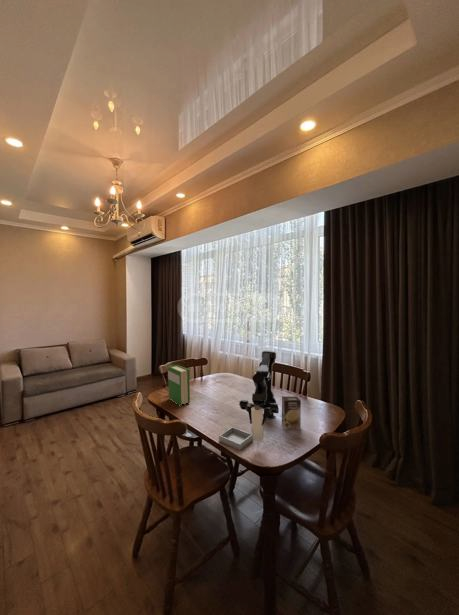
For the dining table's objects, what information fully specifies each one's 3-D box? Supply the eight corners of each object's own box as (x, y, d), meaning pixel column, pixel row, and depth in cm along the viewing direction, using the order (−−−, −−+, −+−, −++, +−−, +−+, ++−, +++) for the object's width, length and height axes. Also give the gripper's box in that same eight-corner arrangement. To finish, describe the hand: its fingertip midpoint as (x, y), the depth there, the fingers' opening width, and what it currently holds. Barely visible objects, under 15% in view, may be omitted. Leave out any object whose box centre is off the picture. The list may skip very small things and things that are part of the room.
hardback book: (189, 404, 172) (189, 369, 171) (180, 407, 167) (179, 371, 167) (178, 396, 186) (177, 364, 185) (168, 399, 181) (167, 366, 180)
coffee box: (284, 430, 135) (284, 400, 135) (281, 424, 142) (281, 396, 141) (301, 429, 136) (300, 400, 135) (297, 423, 142) (297, 395, 141)
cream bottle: (249, 436, 120) (249, 404, 120) (259, 433, 122) (259, 402, 122) (255, 442, 115) (254, 408, 115) (265, 439, 117) (264, 406, 117)
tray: (232, 432, 134) (232, 426, 134) (252, 440, 126) (252, 434, 126) (219, 441, 125) (218, 435, 125) (240, 450, 117) (239, 444, 117)
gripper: (239, 384, 125) (234, 415, 115) (277, 387, 119) (275, 420, 109) (243, 393, 132) (238, 424, 122) (279, 397, 127) (277, 429, 117)
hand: (256, 424), depth 117 cm, fingers closed on cream bottle, 5 cm apart
